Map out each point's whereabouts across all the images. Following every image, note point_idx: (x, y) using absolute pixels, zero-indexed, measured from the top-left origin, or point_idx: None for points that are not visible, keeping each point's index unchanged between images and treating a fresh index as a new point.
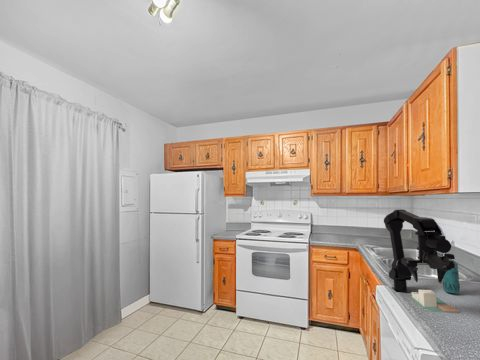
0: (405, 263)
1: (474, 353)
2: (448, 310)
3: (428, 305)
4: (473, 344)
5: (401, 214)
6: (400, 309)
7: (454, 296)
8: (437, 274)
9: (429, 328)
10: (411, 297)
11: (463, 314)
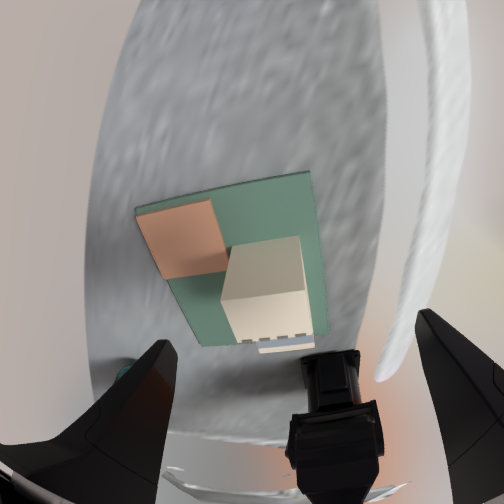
0: None
1: None
2: (185, 211)
3: (275, 243)
4: None
5: None
6: (436, 179)
7: (139, 355)
8: (165, 430)
9: None
10: (318, 322)
11: (127, 205)
